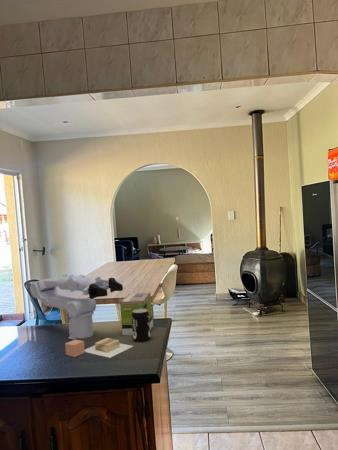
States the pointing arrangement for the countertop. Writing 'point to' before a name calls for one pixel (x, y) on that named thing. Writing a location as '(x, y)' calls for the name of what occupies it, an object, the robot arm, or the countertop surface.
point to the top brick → (75, 348)
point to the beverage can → (140, 325)
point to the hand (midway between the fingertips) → (114, 290)
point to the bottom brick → (107, 345)
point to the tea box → (131, 304)
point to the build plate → (109, 354)
